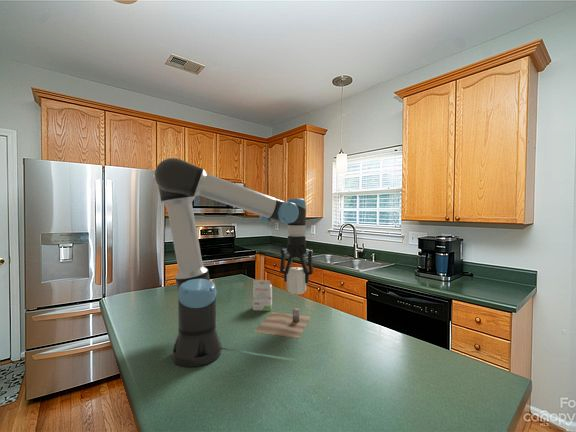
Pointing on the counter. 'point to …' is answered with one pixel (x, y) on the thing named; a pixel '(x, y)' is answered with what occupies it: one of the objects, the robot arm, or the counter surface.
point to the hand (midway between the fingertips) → (296, 289)
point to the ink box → (262, 295)
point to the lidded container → (295, 280)
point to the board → (284, 324)
